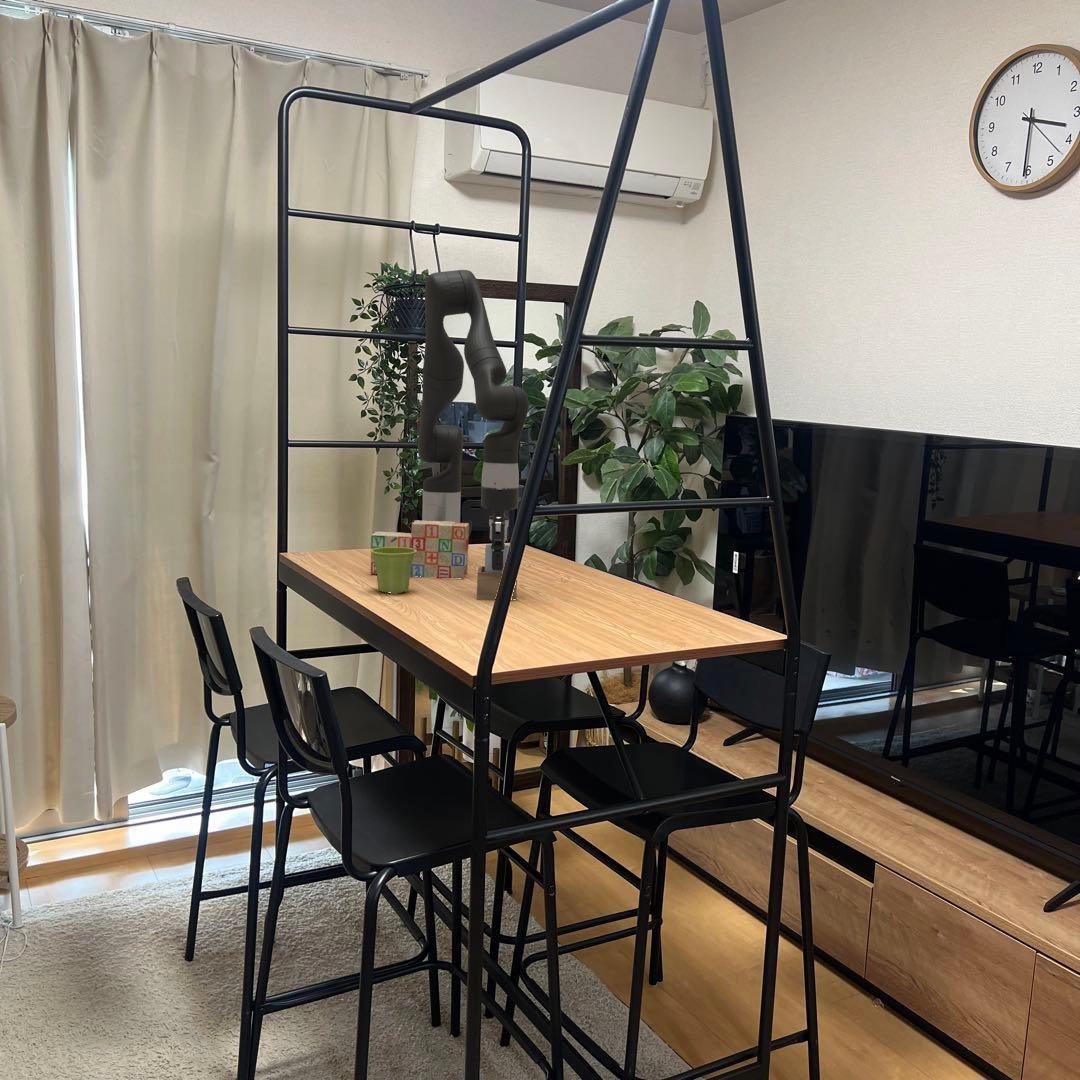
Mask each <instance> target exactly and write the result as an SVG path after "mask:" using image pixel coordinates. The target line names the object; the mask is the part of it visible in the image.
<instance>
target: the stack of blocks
mask: <svg viewBox="0 0 1080 1080" xmlns="http://www.w3.org/2000/svg"><path fill="white" fill-rule="evenodd" d="M469 531H470V523H468V522H460V523H455V522H450V521H442V522H441V521H422V520H418V519H417V520H416V519H415V520H414V522H411V533H410V532H397V531H396V532H395V531H393V532H392V531H376V532H373V533H372V534H371V536H370V537H371V538H370V551H371V550H372V549H375V548H382V547H403V548H412V549H415V550H417V552H416V553H415V555H414V559H413V561H412V567H411V574H410V576H418V577H417V578H422V577H440V578H439V579H443V578H461V579H460V580H465V579H466V577H467V576H468V566H469V565H468V563H469V562H468V559H469V540H470V536H469V535H470V534H469V533H470V532H469ZM371 574H376V566H375V560H374V559H373V553H371V552H370V575H371ZM466 575H467V576H466ZM420 576H421V577H420ZM464 578H465V579H464Z"/></svg>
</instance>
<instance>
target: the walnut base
mask: <svg viewBox="0 0 1080 1080" xmlns="http://www.w3.org/2000/svg"><path fill="white" fill-rule="evenodd" d="M476 576H477V580H476V600H480V601H481V600H483V601H496V600H495V597H496V594H497V590H498V587H499V583H500V580H501V576H502V573H492V572H485V565H478V570H477V575H476ZM517 587H518V579H517V580H516V585H515V588H514V592H513V596H512V600H513V599H516V600H517V591H518V588H517Z"/></svg>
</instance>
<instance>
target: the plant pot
mask: <svg viewBox="0 0 1080 1080" xmlns="http://www.w3.org/2000/svg"><path fill="white" fill-rule="evenodd" d="M416 552H417V550H415V549H412V548H403V547H382V548H375V549H372V550H371V549H370V554H371V553H373V559H374V560H375V566H376V574H377V575H376V581H377V588H378V589H377V590H378V592H379V591H384V593H386V592H391V593H392V594H396V593H398V594H402V593H407V592H409V587H410V581H411V577H410V574H411V567H412V561H413V559H414V555H415V553H416ZM403 591H404V592H403Z"/></svg>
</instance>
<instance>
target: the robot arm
mask: <svg viewBox="0 0 1080 1080" xmlns="http://www.w3.org/2000/svg"><path fill="white" fill-rule="evenodd" d="M424 305H425V309H424V310H425V314H424V315H425V341H424V342H425V343H424V344H425V345H424V353H423V354H424V356H423V366H422V391H421V392H422V393H421V395H422V400H421V401H422V402H421V413H420V420H419V427H418V437H417V454H418V455H417V456H418V458H419V459H420V461H422V462H424V463H429V464H431V463H432V464H448V465H447V468H446V469H444V470H443V471H441V472H440V473H438V474H435V475H432V476H429V477H426V478H425V479H424V480H423V483H422V515H421V517H422V520H421V521H441V522H442V521H450V522H455V523H461V497H462V496H461V493H462V489H461V488H462V481H461V480H462V463H463V462H462V460H463V450H464V434H463V430H462V428H461V427H460V426H458V425H451V424H437V420H439V418H440V415H442V413H444V411H445V410H446V409H447V408H448V406H450V405H451V404H452V403H453V402H454V400H455V399H456V398H457V397H458V396H459V394H460V392H461V391H462V388H463V382H464V381H463V380H464V369H465V362H466V365H467V368H468V370H469V372H470V374H471V378H472V379H473V386H474V395H475V396H474V397H475V407H476V411H477V413H478V415H480V417H481V418H482V419H484V420H486V421H490V422H503V425H502V427H501V429H500V430H498V431H496V432H491V433H488V434H487V435H486V436H485V437H484V441H483V465H482V469H481V470H482V471H481V490H480V491H481V494H480V495H481V497H480V498H481V499H480V500H481V501H480V506H481V507H482V508H483V509H487V510H491V511H492V512H493V514H492V515H493V516H490V515H489V519H488V525H489V540H490V541H491V545H492V546H491V550H492V569H493V570H502V569H503V552H504V550H505V548H504V547H505V546H504V545H506V541H507V539H508V527H509V524H510V523H509V522H510V517H509V516H506V511H508V510H509V511H511V510H512V511H513V510H515V509H516V510H517V509H518V507H519V483H520V482H519V481H520V479H519V478H520V473H519V472H520V471H519V447H520V445H519V444H520V441H521V440H520V439H521V436H522V433H523V430H524V425H525V423H526V420H527V417H528V413H529V408H530V407H529V406H530V405H529V398H528V394H527V392H526V391H525V389H523V388H522V387H520V386H516V385H515V386H514V385H502V384H503V383H504V382H505V380H506V378H507V376H508V373H507V368H506V366H505V363H504V361H503V358H502V356H501V354H500V352H499V350H498V348H497V344H496V342H495V340H494V336H493V333H492V329H491V327H490V321H489V317H488V314H487V309H486V306H485V301H484V298H483V294H482V291H481V287H480V285H479V282H478V279H477V277H476V276H475V274H474V273H473V272H472V271H471V270H468V269H458V270H447V271H437V272H433V273H430V274H429V275H428V277H427V279H426V282H425V287H424ZM463 314H464V315H465V314H468V315H469V317H470V326H469V329H468V332H467V336H466V339H465V341H464V346H463V355H464V358H463V356H462V354H461V352H460V350H459V349H458V348H457V346H456V345H455V343H454V342H453V340H452V339H451V338H450V336H449V335H448V333H447V331H446V329H445V325H444V319H445V317H447V316H453V315H463ZM464 359H465V361H464Z"/></svg>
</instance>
